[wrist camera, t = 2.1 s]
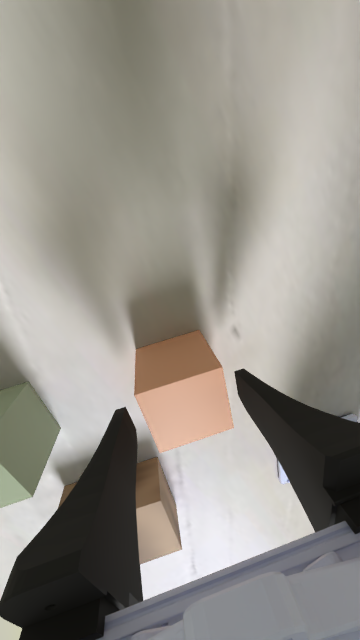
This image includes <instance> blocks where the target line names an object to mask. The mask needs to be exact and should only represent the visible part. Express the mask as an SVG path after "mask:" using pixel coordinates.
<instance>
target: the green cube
mask: <svg viewBox="0 0 360 640" xmlns="http://www.w3.org/2000/svg"><path fill="white" fill-rule="evenodd" d="M60 429H61V428H60V426H59V425H58V423H57V422H56V420H55V419H54V418H53V416H52V415H51V413H50V412H49V410H48V409H47V407H46V406H45V405H44V403H43V402H42V400H41V399H40V397H39V396H38V395H37V393H36V392H35V390H34V389H33V387H32V386H31V385H30V383H29V382H26V383H22V384H19V385H16V386H13V387H9V388H6V389H3V390H0V508H2V507H5V506H8V505H10V504H13V503H16V502H19V501H22V500H25V499H28V498H31V497H33V495H34V493H35V490H36V488H37V485H38V483H39V480H40V478H41V475H42V473H43V470H44V468H45V466H46V463H47V461H48V458H49V456H50V453H51V451H52V448H53V446H54V443H55V441H56V439H57V436H58V434H59V431H60Z"/></svg>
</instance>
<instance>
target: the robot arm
mask: <svg viewBox="0 0 360 640" xmlns="http://www.w3.org/2000/svg"><path fill="white" fill-rule="evenodd" d="M235 378H236V384H237V390H238V395H239V397H240V399H241V401H242V403H243V405H244V407H245V409H246V410H247V412H248V414H249V415H250V417H251V418H252V419H253V421H254V422H255V424H256V425H257V427H258V428H259V430H260V431H261V433H262V434H263V436H264V437H265V439H266V440H267V442H268V443H269V445H270V447H271V448H272V450H273V452H274V454H275V455H276V457H277V459H278V471H279V481H280V483H281V484H286V483H289V482H290V483H291V485H292V487H293V489H294V491H295V493H296V495H297V497H298V498H299V500H300V502H301V504H302V506H303V508H304V510H305V512H306V514H307V516H308V518H309V520H310V522H311V524H312V526H313V528H314V530H315V533H313V534H310V535H308V536H305V537H303V538H300V539H298V540H295V541H293V542H290V543H288V544H285V545H283V546H280V547H278V548H275V549H273V550H270V551H268V552H265V553H263V554H260V555H257V556H255V557H252V558H250V559H247V560H245V561H242V562H240V563H237V564H235V565H232V566H230V567H227V568H225V569H222V570H220V571H217V572H215V573H212V574H210V575H207V576H205V577H202V578H200V579H197V580H195V581H192V582H190V583H187V584H185V585H182V586H180V587H177V588H175V589H172V590H170V591H167V592H165V593H162V594H160V595H157V596H155V597H152V598H150V599H147V600H145V601H143V594H142V583H141V573H140V561H139V548H138V533H137V516H136V470H137V434H136V428H135V426H134V424H133V422H132V419H131V417H130V415H129V413H128V411H127V409H126V407H124V408H121V409H118V410H116V411H115V412H114V415H113V417H112V419H111V421H110V423H109V426H108V428H107V430H106V432H105V434H104V436H103V438H102V440H101V442H100V444H99V446H98V448H97V450H96V452H95V453H94V455H93V457H92V459H91V461H90V463H89V464H88V466H87V468H86V469H85V471H84V472H83V474H82V476H81V477H80V479H79V480H78V482H77V483H76V485H75V486H74V488H73V489H72V490H71V492H70V493H69V495H68V496H67V498H66V499H65V500H64V502H63V503H62V504H61V506H60V507H59V508H58V510H57V511H56V512H55V513H54V515H53V516H52V517H51V518H50V520H49V521H48V522H47V523H46V525H45V526H44V527H43V528H42V529H41V531H40V532H39V533H38V534H37V535H36V536H35V537H34V539H33V540H32V541H31V542H30V543H29V544H28V545H27V547H26V548H25V549H24V550H23V551H22V552H21V553H20V554H19V555H18V557H17V559H16V561H15V564H14V566H13V568H12V571H11V574H10V576H9V579H8V582H7V584H6V587H5V590H4V592H3V595H2V598H1V601H0V616H1V617H2V618H3V619H5V620H7V621H9V622H11V623H13V624H15V625H17V626H19V627H21V628H22V632H21V635H20V638H19V640H360V423H358V422H357V419H358V417H357V416H356V415H355V414H350V415H347V416H344V417H341V418H340V417H337V416H334V415H331V414H328V413H325V412H323V411H320V410H318V409H315V408H312V407H310V406H307V405H305V404H303V403H301V402H299V401H296V400H294V399H292V398H290V397H288V396H286V395H285V394H283V393H281V392H279V391H277V390H276V389H274V388H272V387H271V386H269V385H267V384H266V383H264V382H263V381H261V380H260V379H258V378H257V377H255V376H254V375H252V374H251V373H249V372H248V371H246V370H245V369H241V370H237V371H235Z"/></svg>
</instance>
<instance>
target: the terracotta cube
mask: <svg viewBox="0 0 360 640" xmlns="http://www.w3.org/2000/svg"><path fill="white" fill-rule="evenodd" d="M134 396H135V398H136V400H137V402H138V405H139V407H140V409H141V411H142V414H143V416H144V418H145V421H146V423H147V425H148V427H149V430H150V432H151V434H152V436H153V439H154V441H155V443H156V446H157V448H158V450H159V452H160V453H162V452H165V451H168V450H171V449H174V448H177V447H180V446H182V445H185V444H188V443H191V442H194V441H197V440H200V439H203V438H206V437H209V436H212V435H215V434H217V433H220V432H223V431H226V430H229V429H232V428H234V425H233V420H232V415H231V410H230V404H229V399H228V394H227V389H226V383H225V378H224V373H223V368H222V366H221V364H220V362H219V361H218V359H217V358H216V356H215V355H214V353H213V351H212V350H211V348H210V347H209V345H208V343H207V342H206V340H205V339H204V337H203V335H202V334H201V332H200V331H199V330H197V331H194V332H190V333H187V334H184V335H180V336H177V337H174V338H171V339H167V340H164V341H161V342H157V343H154V344H151V345H148V346H144V347H141V348H138V349H136V360H135V391H134Z"/></svg>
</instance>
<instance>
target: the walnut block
mask: <svg viewBox="0 0 360 640" xmlns="http://www.w3.org/2000/svg"><path fill="white" fill-rule="evenodd" d="M76 483H77V482H76ZM76 483H73V484H70V485H67V486H65V487H64V490H63V494H62V497H61V500H60V504H59V507H60V506H61V504H62V503H63V502H64V500H65V499H66V498H67V496H68V495H69V493H70V492H71V490H72V489H73V488H74V486H75V485H76ZM59 507H58V508H59ZM136 516H137V533H138V548H139V561H140V564H142V563H145V562H148V561H151V560H154V559H156V558H159V557H162V556H165V555H168V554H171V553H173V552H176V551H179V550H182V546H181V539H180V531H179V524H178V516H177V509H176V504H175V502H174V499H173V496H172V494H171V491H170V489H169V486H168V483H167V481H166V478H165V476H164V473H163V470H162V468H161V465H160V462H159V460H158V457H155V458H152V459H149V460H146V461H143V462H139V463H137V470H136Z"/></svg>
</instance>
